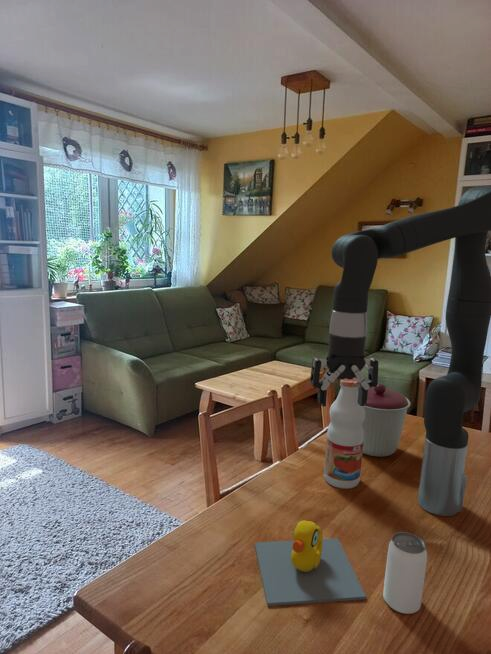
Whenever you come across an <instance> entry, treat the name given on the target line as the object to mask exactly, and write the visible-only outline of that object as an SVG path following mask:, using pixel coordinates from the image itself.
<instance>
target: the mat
mask: <svg viewBox="0 0 491 654" xmlns="http://www.w3.org/2000/svg"><path fill="white" fill-rule="evenodd" d="M293 543H294V540H279V541H262V542H261V541H260V542H259V541H258V542H254V549H255V554H256V559H257V563H258V568H259V573H260V577H261V578H260V579H261V581H262V588H263V591H264V592H263V593H264V597H265V601H266V605H267V607H274V606H275V607H277V606H287V605H290V606H291V605H305V604H315V603H332V602H346V601H359V600H360V601H361V600H367V595H366V593H365V591H364V589H363V587H362V585H361V583H360V581H359V578H358V576H357V575H356V572H355V571H354V568H353V566H352V564H351V562H350V560H349V558H348V556H347V554H346V552H345V550H344V548H343V546H342V544H341V542H340V539H339V538H322V553H321V558H320V562H319V564H318V566H317V568H313V569H312V570H311V571H309V572H303V571H300V570H298V569H297V568H295V567H294V566H293V564H292V561H291V554H292V550H293V547H292V546H293Z"/></svg>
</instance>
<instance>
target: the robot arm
mask: <svg viewBox="0 0 491 654" xmlns="http://www.w3.org/2000/svg"><path fill="white" fill-rule="evenodd" d="M489 231H490V232H491V185H485V186H484V185H482V186H474V187H471V188H469V189H468V190H466V191H465V192H463V195H462V196H461V197H460V198H459V202H458V204H457V205H455V206H452V207H448V208H444V209H439V210H434V211H433V210H432V211H429V212H423V213H420V214H418V213H417V214H415V215H409V216H407V217H404V218H401V219H397V220H394V221H391V222H388V223H386V224H383V225H380V226H377V227H373V228H368V229H364V230H359V231H354V232H352V233H351V232H350V233H347V234H344V235H342V236H340V237H339V238H338V239H337V240H336V241H335V242H334V243H333V245H332V247H331V258H332V260H333V262H334V263H335V264H336V266H338V267H340V268H343V270H342V275H341V279H340V281H339V282H337V283H336V284H335V286H334V289H333V296H332V297H333V298H332V309H331V310H332V311H331V316H330V322H329V327H328V328H329V329H328V330H329V336H328V348H327V350H328V351H327V357H326V358H318V357H317V356H316V357H315V356H314V357H313V358H312V362H311V369H310V370H311V371H310V378H309V383H310V384H311V386H312V387H313V388H316V389H317V402H318V403H319V404H320V406H321V407H326V406H327V395H328V390H327V389H328V387H329V386H331V384H333V383H334V382H336V379H337V380H342V379H353V378H355V379H356V380H357V381H358V383H359V384H360V386H359V390H358V404H359V405H360V406H364V403H366V402H367V395H368V389H369V388H371V387H376V386H377V385H378V383H379V382H378V381H379V360H377V358H374V357H372V356H370V357H369V358H365V353H366V340H367V330H368V329H367V327H368V315H367V314H368V302H369V290H370V288H371V285H372V283H373V279H374V276H375V273H376V269H377V266H378V260H379V259H391V258H397V257H400V256H403V255H404V254H405V255H406V254H409V253H411V252H414V251H417V250H421V249H423V248H425V247H429V246H432V245H436V244H438V243H441V242H444V241H448V240H451V239H454V238H455V241H454V253H453V263H452V270H451V275H450V276H451V278H450V284H449V290H448V296H447V301H446V307H445V308H446V309H445V324H446V329H447V333H448V337H449V341H450V345H451V356H450V361H449V366H448V371H447V374H446V375H442V376H439V377H437V378H435V379H433V380H432V381H431V382H430V383H429V384H428V386H427V389H426V392H425V401H424V414H423V415H424V416H423V425H424V429H425V438H424V445H423V446H424V447H423V455H422V463H421V470H420V471H421V472H420V479H419V485H418V486H419V487H418V495H417V502H418V505H419V507H421V508H422V509H423V510H425V511H426V512H428V513H431V514H434V515H436V516H442V517H450V516H455V515H456V514H457V513H459V512H462V511H463V505H464V500H465V499H464V498H465V491H466V485H467V480H468V479H467V478H468V475H467V474H466V473H465V472H464V471H465V466H466V458H467V450H468V445H469V436H470V435H469V432H468V430H466V429H465V428H464V427H463V424H464V423H463V422H464V413H466V412H469V411H471V410H472V409H474V408H475V407H476V406H477V405H478V404H479V401H480V399H481V396H482V384H483V383H482V381H483V379H482V378H483V361H484V354H485V350H486V344H487V341H488V340H487V339H488V332H489V327H490V322H491V271H490V270H489V266H488V261H487V256H486V245H487V239H488V234H489ZM325 366H326V367H327V370H326V371H325V372H324V373H323V376H322V378H320V377H321V370H323V369H324V367H325ZM365 366H366V368H367V369H368V370H367V372H368V373H367V379H365V377H364V375H363V373H362V372H361V371H362V370H363V369H364V367H365Z"/></svg>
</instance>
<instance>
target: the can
mask: <svg viewBox="0 0 491 654" xmlns="http://www.w3.org/2000/svg"><path fill="white" fill-rule="evenodd" d="M426 548H427V546H426V543H425V541H424V540H423V539H422V538H421V537H419V536H418V535H416V534H414V533H412V532H408V531H407V532H405V531H400V532H399V531H398V532H396V533H393V535H392V536H391V539H390V542H389V543H388V548H387V555H386V563H385V564H386V566H385V573H384V583H383V592H382V594H383V600H384V601H385V603H386V604H387V605H388V606H389V607H390V608H391V609H392V610H393V611H395V612H397V613H400V614H404V615H412V614H415V613H418V612H419V610H420V609H421V605H422V600H423V593H424V586H425V585H424V584H425V578H426V571H427V570H426V569H427V564H428V563H427V562H428V553H427V549H426Z"/></svg>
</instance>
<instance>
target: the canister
mask: <svg viewBox="0 0 491 654" xmlns="http://www.w3.org/2000/svg"><path fill="white" fill-rule="evenodd" d="M358 390H359V388H358ZM410 406H411V401H410V400H409V399H408V398H407V397H406V396H404V395H403V394H401V393H400V392H398V391H396V390H393V389H389V388H387V387H386V385H384V383H380V382H378V385H377V386H376V387H371V388H369V389H368V395H367V402H366V403H364V406H363V407H364V409H365V420H364V422H363V429H364V442H363V452H362V454H364V455H367V456H370V457H378V458H379V457H381V458H383V457H388V456H391V455H393V454H394V453H395V452H396V451H397V449H398V447H399V444H400V440H401V437H402V432H403V429H404V424H405V420H406V416H407V412H408V409H409V408H410Z"/></svg>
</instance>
